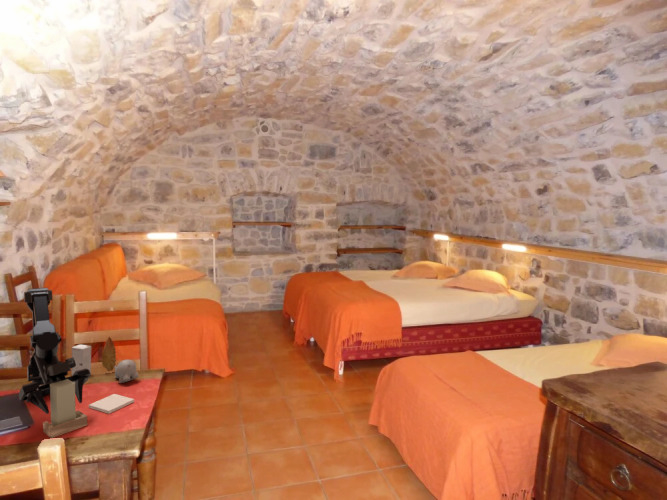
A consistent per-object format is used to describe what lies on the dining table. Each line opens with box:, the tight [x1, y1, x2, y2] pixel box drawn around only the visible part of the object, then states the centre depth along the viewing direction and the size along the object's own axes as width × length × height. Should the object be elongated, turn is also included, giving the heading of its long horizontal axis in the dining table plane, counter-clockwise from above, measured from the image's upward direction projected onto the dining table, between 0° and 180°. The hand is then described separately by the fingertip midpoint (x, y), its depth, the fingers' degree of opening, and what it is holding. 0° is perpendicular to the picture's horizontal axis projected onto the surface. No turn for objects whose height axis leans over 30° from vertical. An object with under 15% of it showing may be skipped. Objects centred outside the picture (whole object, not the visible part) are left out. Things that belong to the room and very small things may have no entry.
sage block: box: [49, 379, 77, 426], centre depth 128 cm, size 5×5×14 cm
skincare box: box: [71, 344, 92, 376], centre depth 169 cm, size 6×4×12 cm
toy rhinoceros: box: [114, 359, 140, 384], centre depth 166 cm, size 7×12×8 cm, turn 54°
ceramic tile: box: [88, 393, 135, 415], centre depth 144 cm, size 10×10×1 cm
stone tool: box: [101, 336, 117, 372], centre depth 174 cm, size 5×2×15 cm, turn 126°
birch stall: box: [42, 410, 88, 439], centre depth 128 cm, size 6×10×3 cm, turn 145°
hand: (65, 407), depth 128 cm, fingers open, 9 cm apart
